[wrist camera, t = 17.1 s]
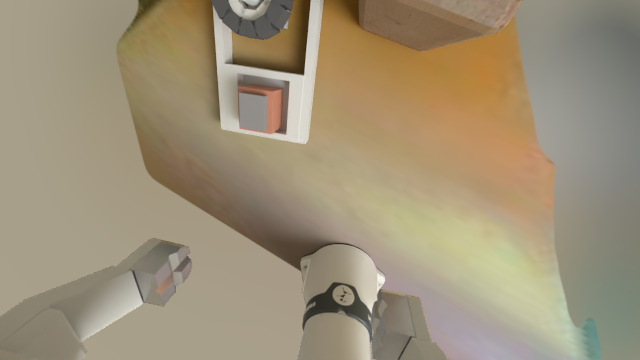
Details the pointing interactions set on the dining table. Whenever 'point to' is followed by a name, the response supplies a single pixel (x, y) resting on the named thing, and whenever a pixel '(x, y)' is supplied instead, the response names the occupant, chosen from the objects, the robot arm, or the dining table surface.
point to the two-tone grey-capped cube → (260, 108)
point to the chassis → (269, 80)
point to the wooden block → (435, 20)
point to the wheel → (254, 17)
